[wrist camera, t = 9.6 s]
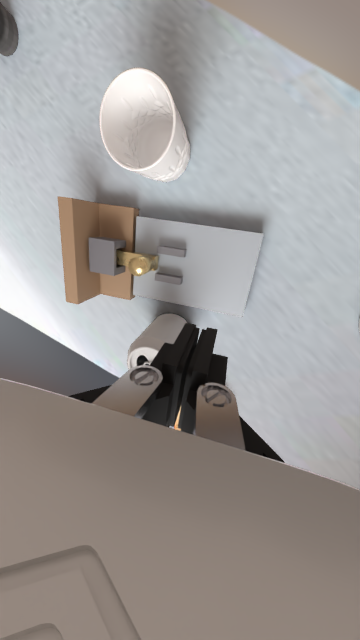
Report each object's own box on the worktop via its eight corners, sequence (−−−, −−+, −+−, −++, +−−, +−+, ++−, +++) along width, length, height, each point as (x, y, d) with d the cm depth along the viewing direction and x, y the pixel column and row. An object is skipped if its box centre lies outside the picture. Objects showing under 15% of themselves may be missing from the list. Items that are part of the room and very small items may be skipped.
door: (264, 225, 31) (272, 224, 24) (240, 318, 36) (241, 340, 29) (94, 203, 35) (57, 196, 28) (96, 288, 41) (66, 301, 34)
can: (152, 309, 40) (119, 339, 29) (193, 313, 38) (175, 346, 27) (153, 346, 43) (124, 386, 32) (192, 352, 41) (175, 396, 30)
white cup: (170, 101, 28) (138, 41, 19) (206, 157, 30) (192, 125, 21) (128, 151, 32) (84, 120, 23) (162, 200, 33) (133, 188, 24)
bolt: (160, 254, 34) (146, 259, 28) (158, 270, 34) (144, 277, 29) (104, 245, 35) (81, 248, 30) (104, 260, 36) (82, 266, 31)
